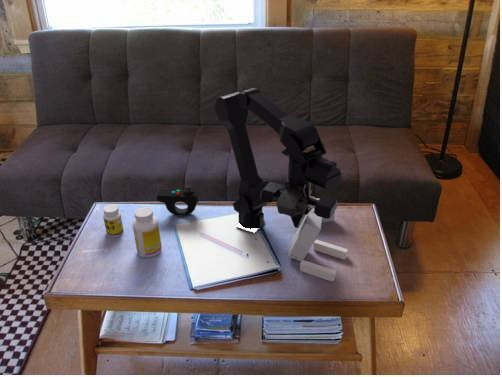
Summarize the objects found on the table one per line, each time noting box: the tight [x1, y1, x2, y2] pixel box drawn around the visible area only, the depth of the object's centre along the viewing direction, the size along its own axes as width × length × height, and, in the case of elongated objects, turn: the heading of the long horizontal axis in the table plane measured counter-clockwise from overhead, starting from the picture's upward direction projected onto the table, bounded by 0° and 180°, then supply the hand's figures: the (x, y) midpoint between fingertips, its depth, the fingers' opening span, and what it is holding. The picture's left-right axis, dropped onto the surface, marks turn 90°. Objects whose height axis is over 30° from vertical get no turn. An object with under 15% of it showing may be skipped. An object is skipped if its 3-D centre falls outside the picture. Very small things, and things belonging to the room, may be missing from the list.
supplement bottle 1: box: [102, 204, 124, 238], centre depth 132 cm, size 5×5×8 cm
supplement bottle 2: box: [132, 206, 162, 258], centre depth 124 cm, size 7×7×13 cm
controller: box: [156, 184, 199, 217], centre depth 139 cm, size 4×12×10 cm, turn 90°
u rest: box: [299, 239, 349, 282], centre depth 122 cm, size 9×11×2 cm
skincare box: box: [287, 212, 323, 263], centre depth 122 cm, size 6×4×12 cm
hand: (296, 226), depth 121 cm, fingers closed
